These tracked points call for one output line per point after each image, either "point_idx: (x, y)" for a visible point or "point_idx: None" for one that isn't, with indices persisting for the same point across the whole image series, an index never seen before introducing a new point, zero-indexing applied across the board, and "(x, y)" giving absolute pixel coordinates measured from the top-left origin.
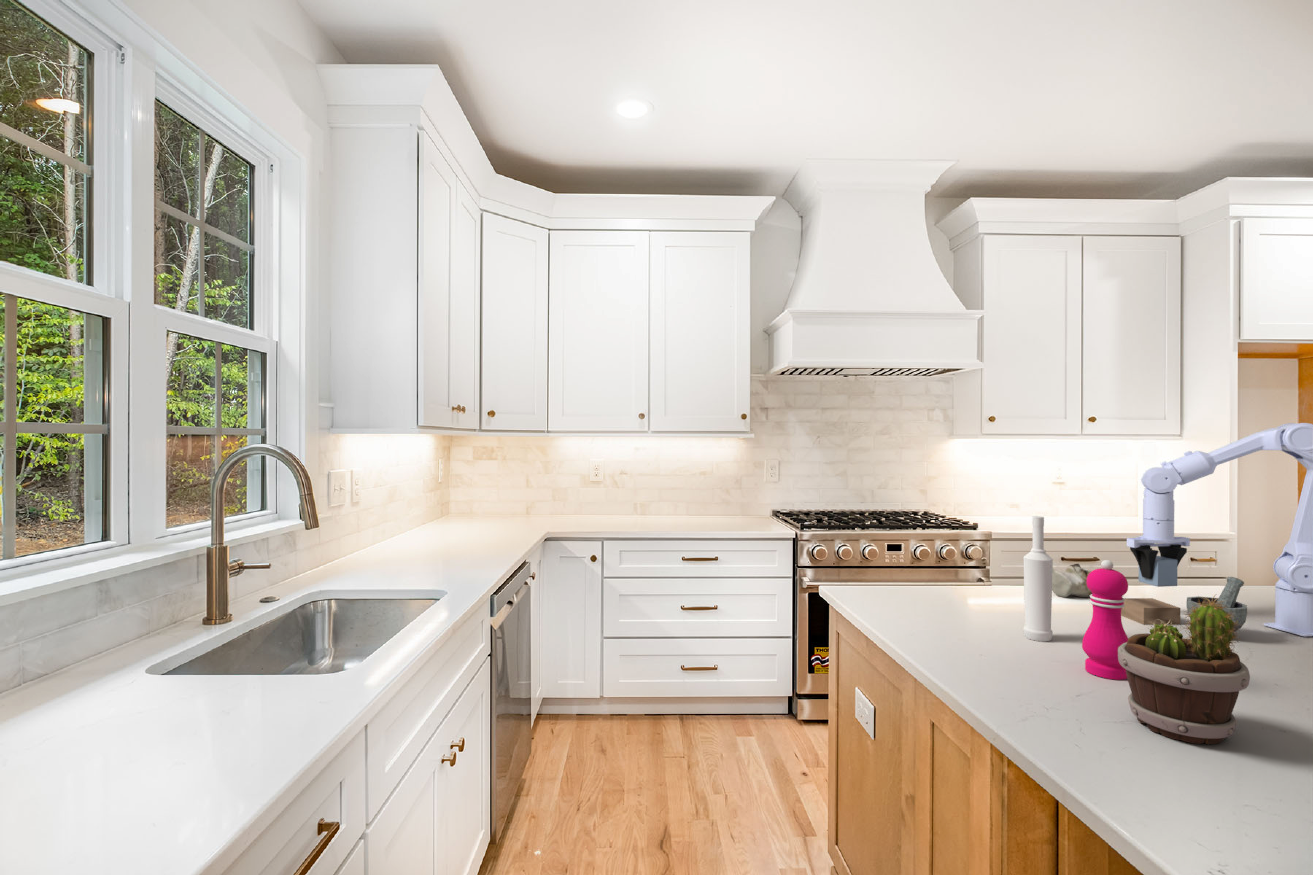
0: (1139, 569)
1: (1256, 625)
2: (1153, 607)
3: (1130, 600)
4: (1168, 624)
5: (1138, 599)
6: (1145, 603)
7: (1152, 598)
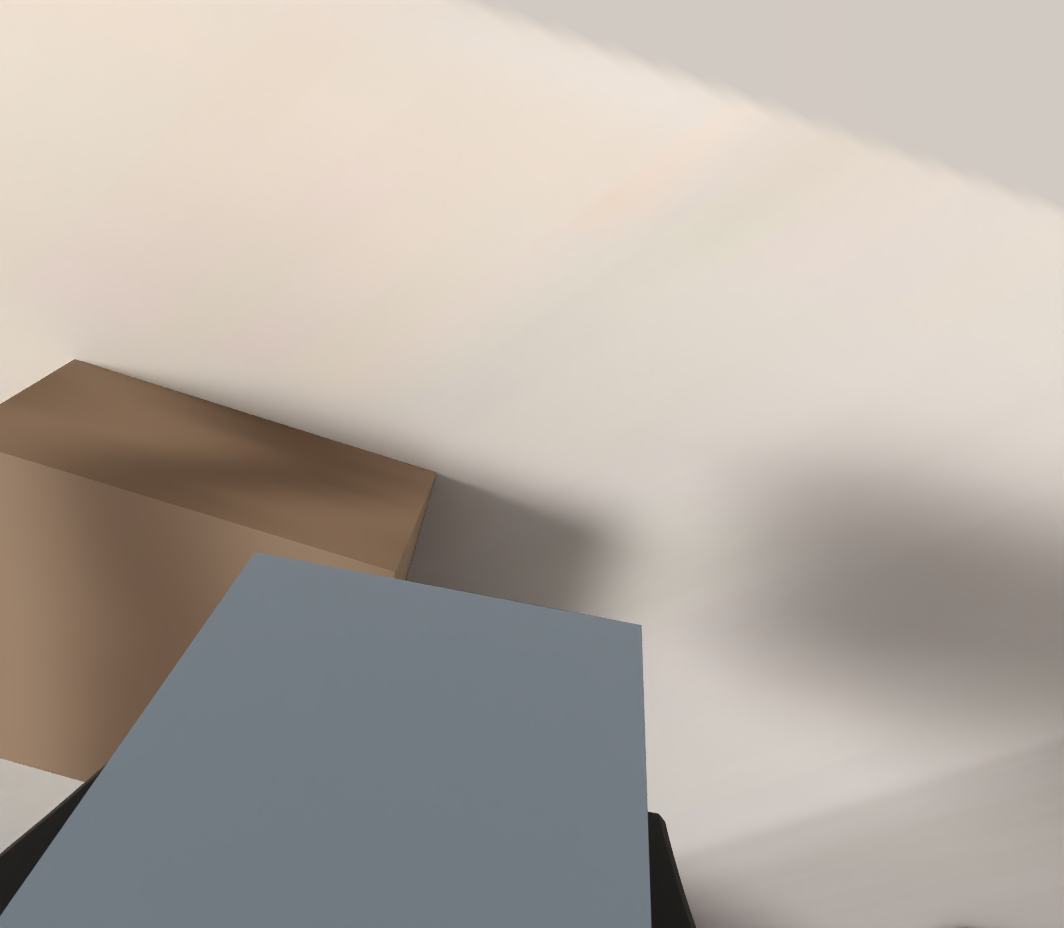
0: (138, 737)
1: (917, 904)
2: (68, 769)
3: (34, 550)
4: None
5: (172, 551)
6: (110, 670)
7: (391, 574)
